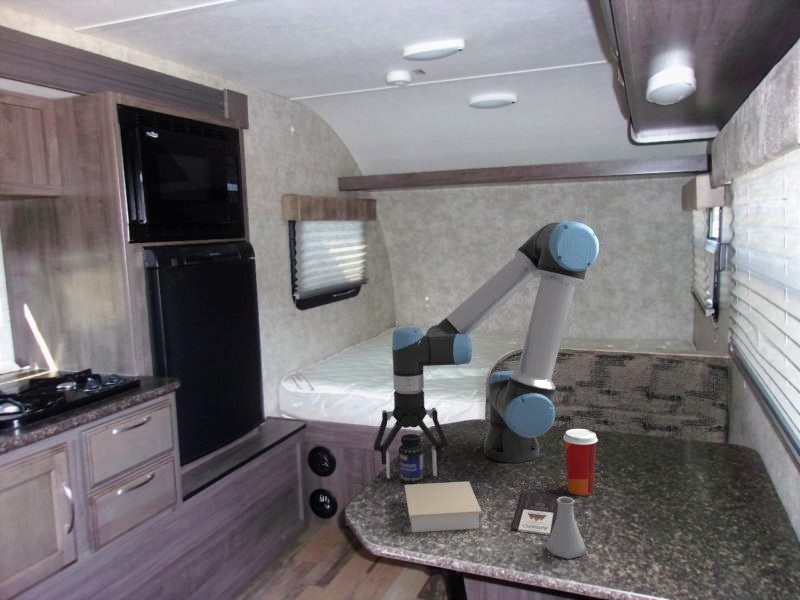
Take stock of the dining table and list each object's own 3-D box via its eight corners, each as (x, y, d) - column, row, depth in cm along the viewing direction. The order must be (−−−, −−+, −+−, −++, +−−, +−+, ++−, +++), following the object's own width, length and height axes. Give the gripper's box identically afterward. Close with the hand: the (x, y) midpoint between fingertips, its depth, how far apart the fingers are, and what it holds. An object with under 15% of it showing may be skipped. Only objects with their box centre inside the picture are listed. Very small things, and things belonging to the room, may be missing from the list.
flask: (562, 536, 120) (562, 488, 119) (593, 550, 114) (593, 500, 113) (538, 548, 115) (538, 499, 114) (569, 564, 110) (569, 512, 109)
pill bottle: (396, 483, 148) (395, 440, 147) (402, 473, 154) (401, 432, 152) (420, 485, 146) (419, 441, 145) (426, 475, 152) (425, 433, 151)
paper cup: (584, 481, 145) (584, 426, 143) (604, 494, 138) (604, 436, 136) (556, 487, 143) (556, 430, 141) (575, 500, 135) (575, 440, 134)
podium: (469, 497, 138) (468, 481, 138) (481, 529, 123) (481, 511, 123) (405, 501, 137) (404, 484, 137) (409, 533, 122) (409, 515, 122)
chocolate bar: (562, 496, 137) (556, 534, 120) (562, 499, 137) (556, 538, 120) (522, 491, 139) (511, 528, 122) (522, 495, 140) (511, 532, 123)
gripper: (361, 396, 143) (364, 483, 145) (458, 391, 144) (459, 478, 147) (361, 388, 150) (364, 471, 153) (453, 384, 152) (455, 466, 154)
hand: (411, 474), depth 150 cm, fingers open, 11 cm apart
